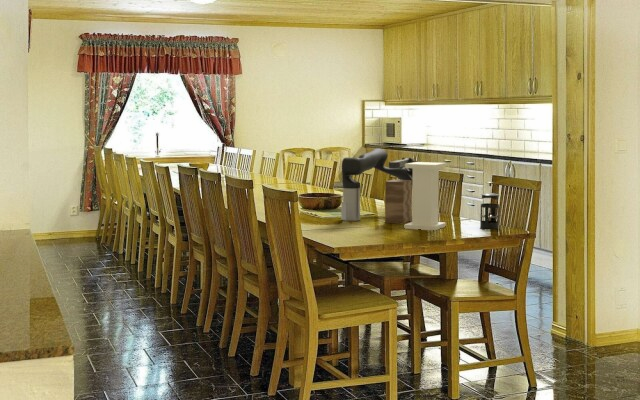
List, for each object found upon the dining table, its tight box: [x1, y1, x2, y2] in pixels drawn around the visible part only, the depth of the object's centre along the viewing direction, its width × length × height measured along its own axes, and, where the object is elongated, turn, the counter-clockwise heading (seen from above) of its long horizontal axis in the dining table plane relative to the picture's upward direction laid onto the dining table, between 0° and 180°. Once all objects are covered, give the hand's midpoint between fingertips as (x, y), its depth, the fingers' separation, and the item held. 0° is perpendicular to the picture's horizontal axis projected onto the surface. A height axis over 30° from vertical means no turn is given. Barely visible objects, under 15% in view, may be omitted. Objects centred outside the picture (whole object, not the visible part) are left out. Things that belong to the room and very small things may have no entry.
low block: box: [384, 179, 412, 225], centre depth 437 cm, size 12×10×22 cm
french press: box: [479, 181, 500, 230], centre depth 412 cm, size 12×9×23 cm
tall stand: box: [403, 161, 448, 232], centre depth 415 cm, size 16×16×32 cm
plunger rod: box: [388, 157, 414, 168], centre depth 437 cm, size 26×6×3 cm, turn 153°
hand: (406, 159), depth 443 cm, fingers closed on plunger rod, 3 cm apart
